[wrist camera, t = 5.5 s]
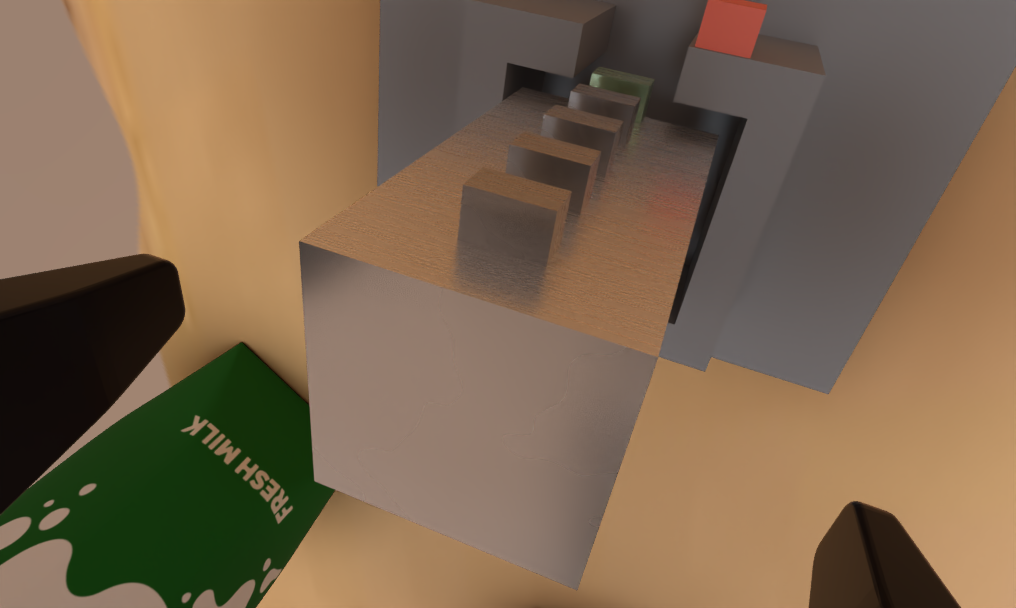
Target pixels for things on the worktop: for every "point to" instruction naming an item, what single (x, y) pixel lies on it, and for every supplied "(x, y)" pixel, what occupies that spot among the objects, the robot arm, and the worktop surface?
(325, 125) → the worktop surface
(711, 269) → the stand
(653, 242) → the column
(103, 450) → the milk carton
